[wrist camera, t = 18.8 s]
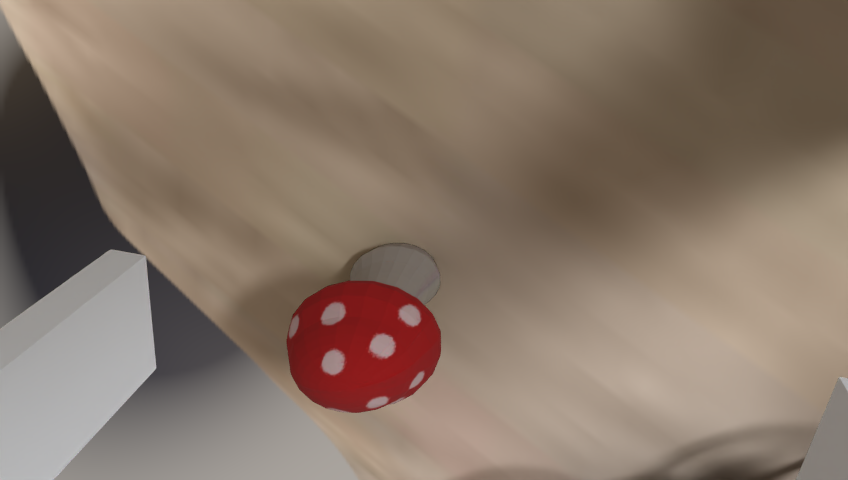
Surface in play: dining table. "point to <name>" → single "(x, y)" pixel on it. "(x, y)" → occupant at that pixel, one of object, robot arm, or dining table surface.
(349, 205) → the dining table surface
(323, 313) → the decorative mushroom
